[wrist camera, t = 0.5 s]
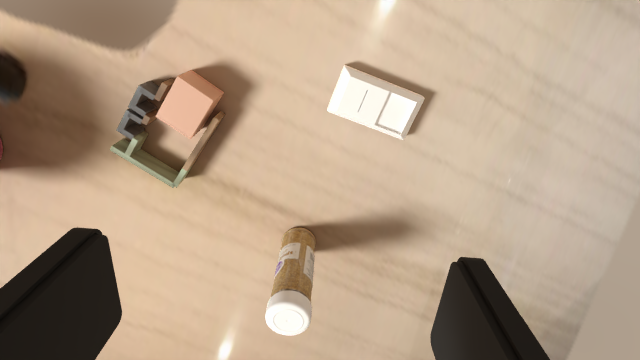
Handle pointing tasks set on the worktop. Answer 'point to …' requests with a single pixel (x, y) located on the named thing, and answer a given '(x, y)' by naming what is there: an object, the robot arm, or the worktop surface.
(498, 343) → the robot arm
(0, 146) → the plant pot
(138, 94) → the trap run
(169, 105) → the block
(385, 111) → the white flat block
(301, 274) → the sprinkles bottle
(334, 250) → the worktop surface
